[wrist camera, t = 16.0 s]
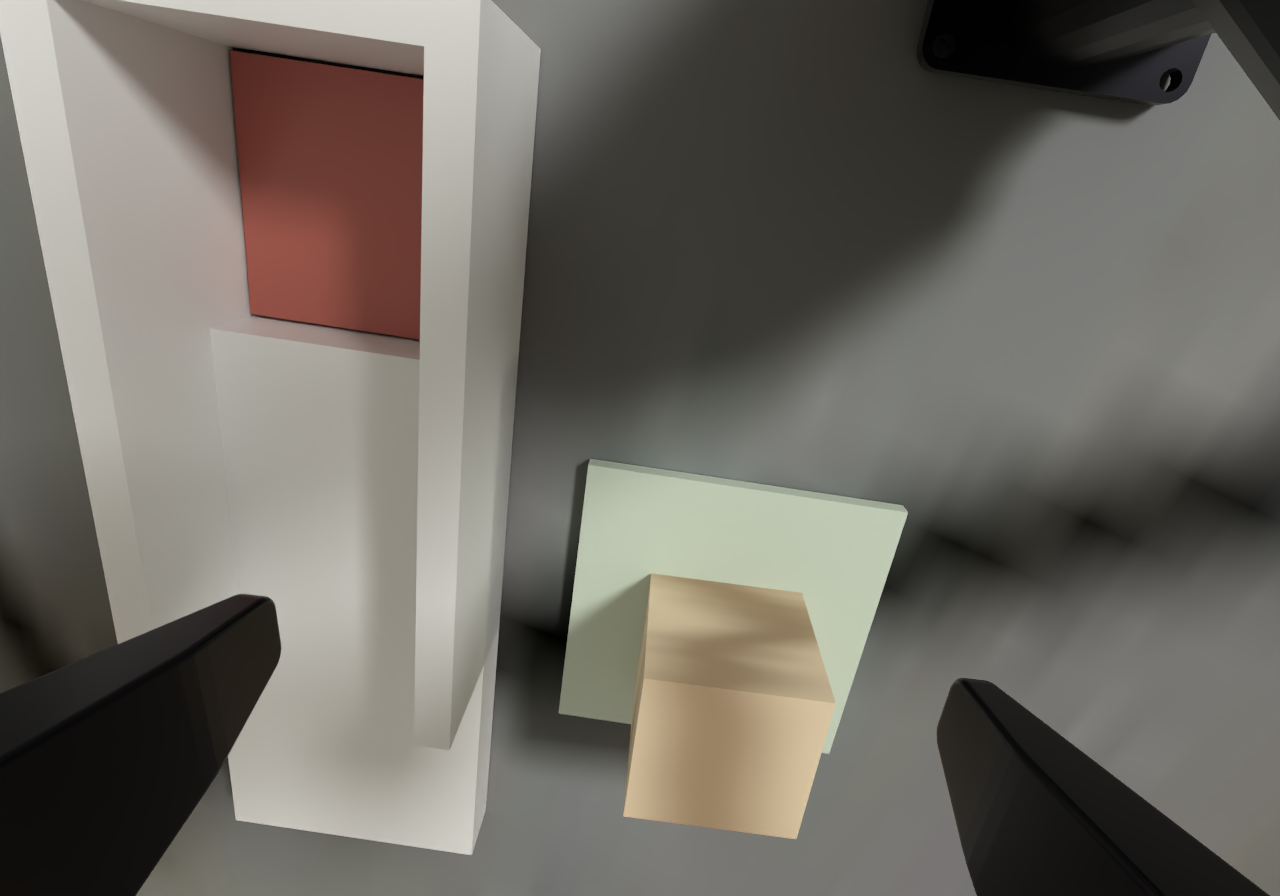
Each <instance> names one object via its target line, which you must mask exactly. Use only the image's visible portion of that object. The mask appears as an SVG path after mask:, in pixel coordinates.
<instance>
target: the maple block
mask: <svg viewBox="0 0 1280 896" xmlns="http://www.w3.org/2000/svg"><path fill="white" fill-rule="evenodd" d="M835 704H836V703H835V699H834V696H833V693H832V689H831V686H830V683H829V680H828V676H827V673H826V670H825V666H824V663H823V660H822V657H821V653H820V650H819V647H818V643H817V640H816V637H815V634H814V630H813V627H812V624H811V621H810V617H809V614H808V611H807V607H806V604H805V601H804V598H803V594H802V593H799V592H791V591H784V590H776V589H768V588H760V587H753V586H745V585H737V584H730V583H722V582H714V581H706V580H699V579H691V578H683V577H675V576H668V575H660V574H652V573H651V578H650V585H649V592H648V599H647V606H646V613H645V620H644V626H643V633H642V640H641V647H640V654H639V661H638V668H637V675H636V682H635V689H634V699H633V710H632V722H631V733H630V745H629V756H628V768H627V779H626V791H625V803H624V814H623V816H625V817H633V818H640V819H648V820H655V821H663V822H670V823H678V824H686V825H693V826H701V827H708V828H716V829H724V830H731V831H739V832H746V833H754V834H761V835H769V836H777V837H784V838H792V839H797V835H798V832H799V828H800V825H801V821H802V818H803V815H804V811H805V808H806V804H807V801H808V797H809V794H810V790H811V787H812V784H813V780H814V777H815V773H816V770H817V766H818V763H819V759H820V756H821V753H822V749H823V746H824V742H825V739H826V735H827V732H828V728H829V725H830V722H831V718H832V715H833V711H834V708H835Z"/></svg>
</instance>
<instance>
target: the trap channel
mask: <svg viewBox="0 0 1280 896" xmlns="http://www.w3.org/2000/svg"><path fill="white" fill-rule="evenodd" d="M0 34H1V40H2V45H3V50H4V55H5V60H6V66H7V71H8V76H9V81H10V86H11V92H12V97H13V102H14V107H15V112H16V118H17V123H18V128H19V133H20V138H21V144H22V149H23V154H24V159H25V164H26V169H27V175H28V180H29V185H30V190H31V195H32V201H33V206H34V211H35V216H36V221H37V227H38V232H39V237H40V242H41V247H42V253H43V258H44V263H45V268H46V273H47V279H48V284H49V289H50V294H51V299H52V305H53V310H54V315H55V320H56V325H57V331H58V336H59V341H60V346H61V351H62V357H63V362H64V367H65V372H66V377H67V383H68V388H69V393H70V398H71V403H72V409H73V414H74V419H75V424H76V429H77V435H78V440H79V445H80V450H81V455H82V461H83V466H84V471H85V476H86V481H87V487H88V492H89V497H90V502H91V507H92V513H93V518H94V523H95V528H96V533H97V539H98V544H99V549H100V554H101V559H102V565H103V570H104V575H105V580H106V585H107V591H108V596H109V601H110V606H111V611H112V617H113V622H114V627H115V632H116V637H117V643H118V644H120V643H122V642H124V641H127V640H129V639H132V638H134V637H136V636H139V635H141V634H144V633H146V632H148V631H151V630H153V629H155V628H158V627H160V626H163V625H165V624H167V623H170V622H172V621H175V620H177V619H179V618H182V617H184V616H186V615H189V614H191V613H194V612H196V611H198V610H201V609H203V608H206V607H208V606H210V605H213V604H215V603H218V602H220V601H222V600H225V599H227V598H229V597H232V596H234V595H237V594H251V595H259V596H267V597H269V598H271V599H272V600H273V602H274V603H275V607H276V613H277V619H278V626H279V633H280V640H281V655H280V659H279V662H278V664H277V667H276V669H275V670H274V672H273V674H272V676H271V678H270V680H269V681H268V683H267V685H266V687H265V689H264V691H263V692H262V694H261V696H260V698H259V700H258V702H257V703H256V705H255V707H254V709H253V711H252V713H251V715H250V716H249V718H248V720H247V722H246V724H245V726H244V727H243V729H242V731H241V733H240V735H239V737H238V738H237V740H236V742H235V744H234V746H233V748H232V749H231V751H230V753H229V755H228V761H229V769H230V777H231V785H232V793H233V801H234V809H235V817H236V820H238V821H245V822H252V823H259V824H265V825H272V826H279V827H286V828H292V829H299V830H306V831H313V832H319V833H326V834H333V835H340V836H346V837H353V838H360V839H366V840H373V841H380V842H387V843H393V844H400V845H407V846H414V847H420V848H427V849H434V850H441V851H447V852H454V853H461V854H468V855H472V853H473V849H474V846H475V843H476V840H477V836H478V833H479V830H480V827H481V823H482V820H483V817H484V814H485V810H486V801H487V788H488V774H489V760H490V746H491V732H492V718H493V704H494V691H495V677H496V663H497V649H498V635H499V621H500V607H501V594H502V580H503V566H504V552H505V538H506V524H507V510H508V497H509V483H510V469H511V455H512V441H513V427H514V413H515V400H516V386H517V372H518V358H519V344H520V330H521V316H522V303H523V289H524V275H525V261H526V247H527V233H528V219H529V206H530V192H531V178H532V164H533V150H534V136H535V122H536V109H537V95H538V81H539V67H540V53H541V49H540V48H539V47H538V46H537V45H536V44H535V43H534V42H533V41H532V40H531V39H530V38H529V37H528V36H527V35H526V34H525V33H524V32H523V31H522V30H521V29H520V28H519V27H518V26H517V25H516V24H515V23H514V22H513V21H512V20H511V19H510V18H509V17H508V16H507V15H506V14H505V13H503V12H502V11H501V10H500V9H499V8H498V7H497V6H496V5H495V4H494V3H493V2H492V1H491V0H0ZM233 48H240V49H247V50H253V51H260V52H266V53H273V54H280V55H286V56H293V57H300V58H306V59H313V60H319V61H326V62H333V63H339V64H346V65H353V66H359V67H366V68H373V69H379V70H386V71H392V72H399V73H406V74H412V75H419V76H424V79H417V78H411V77H404V76H397V75H391V74H384V73H378V72H371V71H364V70H358V69H351V68H344V67H338V66H331V65H324V64H318V63H311V62H305V61H298V60H291V59H285V58H278V57H271V56H265V55H258V54H252V53H245V52H238V51H233ZM257 315H261V316H257ZM263 316H267V317H263ZM270 317H274V318H270ZM277 318H281V319H277ZM283 319H287V320H283ZM290 320H294V321H290ZM297 321H301V322H297ZM304 322H307V323H304ZM310 323H314V324H310ZM317 324H321V325H317ZM324 325H327V326H324ZM330 326H334V327H330ZM337 327H341V328H337ZM344 328H347V329H344ZM350 329H354V330H350ZM357 330H361V331H357ZM364 331H367V332H364ZM370 332H374V333H370ZM377 333H381V334H377ZM384 334H387V335H384ZM390 335H394V336H390ZM397 336H401V337H397ZM404 337H407V338H404ZM410 338H414V339H410ZM417 339H420V340H417Z"/></svg>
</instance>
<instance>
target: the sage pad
mask: <svg viewBox="0 0 1280 896" xmlns="http://www.w3.org/2000/svg"><path fill="white" fill-rule="evenodd" d="M907 514H908V512H907V510H906V509H905V508H904V506H903V505H897V504H890V503H884V502H877V501H870V500H864V499H857V498H850V497H844V496H837V495H830V494H824V493H817V492H810V491H804V490H797V489H790V488H784V487H777V486H770V485H764V484H757V483H750V482H743V481H737V480H730V479H723V478H717V477H710V476H703V475H697V474H690V473H683V472H677V471H670V470H663V469H657V468H650V467H643V466H637V465H630V464H623V463H617V462H610V461H603V460H596V459H590V461H589V464H588V472H587V480H586V488H585V497H584V505H583V513H582V522H581V530H580V538H579V547H578V555H577V563H576V572H575V580H574V588H573V597H572V605H571V613H570V622H569V630H568V638H567V647H566V655H565V663H564V672H563V680H562V688H561V696H560V705H559V714H566V715H572V716H579V717H586V718H592V719H599V720H606V721H613V722H619V723H626V724H631V722H632V710H633V699H634V689H635V682H636V675H637V668H638V661H639V654H640V647H641V640H642V633H643V626H644V620H645V613H646V606H647V599H648V592H649V585H650V578H651V573H652V574H660V575H668V576H675V577H683V578H691V579H699V580H706V581H714V582H722V583H730V584H737V585H745V586H753V587H760V588H768V589H776V590H784V591H791V592H799V593H802V594H803V598H804V601H805V604H806V607H807V611H808V614H809V617H810V621H811V624H812V627H813V630H814V634H815V637H816V640H817V643H818V647H819V650H820V653H821V657H822V660H823V663H824V666H825V670H826V673H827V676H828V680H829V683H830V686H831V689H832V693H833V696H834V699H835V703H836V704H835V708H834V711H833V715H832V718H831V722H830V725H829V728H828V732H827V735H826V739H825V742H824V746H823V749H822V753H828V754H829V752H830V749H831V746H832V743H833V740H834V737H835V734H836V731H837V728H838V725H839V722H840V719H841V716H842V713H843V710H844V706H845V703H846V700H847V697H848V694H849V691H850V688H851V685H852V682H853V679H854V676H855V673H856V670H857V667H858V664H859V661H860V658H861V655H862V652H863V648H864V645H865V642H866V639H867V636H868V633H869V630H870V627H871V624H872V621H873V618H874V615H875V612H876V609H877V606H878V603H879V600H880V597H881V594H882V590H883V587H884V584H885V581H886V578H887V575H888V572H889V569H890V566H891V563H892V560H893V557H894V554H895V551H896V548H897V545H898V542H899V539H900V536H901V532H902V529H903V526H904V523H905V520H906V517H907Z"/></svg>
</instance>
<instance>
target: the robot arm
mask: <svg viewBox="0 0 1280 896" xmlns="http://www.w3.org/2000/svg"><path fill="white" fill-rule="evenodd" d="M1212 33H1217V34H1218V36H1219V37H1220V39H1221V40H1222V41H1223V43H1224V44H1225V45H1226V47H1227V48H1228V50H1229V51H1230V52H1231V54H1232V55H1233V56H1234V58H1235V59H1236V61H1237V62H1238V63H1239V65H1240V66H1241V68H1242V69H1243V70H1244V72H1245V73H1246V74H1247V76H1248V77H1249V79H1250V80H1251V81H1252V83H1253V84H1254V85H1255V87H1256V88H1257V90H1258V91H1259V92H1260V94H1261V95H1262V96H1263V98H1264V99H1265V101H1266V102H1267V103H1268V105H1269V106H1270V107H1271V109H1272V110H1273V112H1274V113H1275V114H1276V116H1277V117H1278V119H1279V120H1280V0H929V3H928V7H927V11H926V15H925V18H924V22H923V26H922V30H921V34H920V38H919V42H918V46H917V58H918V61H919V64H920V65H921V66H922V67H923V68H924V69H925V70H927V71H930V72H934V73H941V74H947V75H954V76H960V77H967V78H974V79H980V80H987V81H994V82H1000V83H1007V84H1013V85H1020V86H1027V87H1033V88H1040V89H1047V90H1053V91H1060V92H1066V93H1073V94H1080V95H1086V96H1093V97H1100V98H1106V99H1113V100H1119V101H1126V102H1133V103H1139V104H1146V105H1160V104H1166V103H1171V102H1173V101H1175V100H1177V99H1179V98H1180V97H1181V96H1183V95H1184V94H1185V93H1186V92H1187V90H1188V88H1189V87H1190V85H1191V83H1192V81H1193V78H1194V76H1195V73H1196V71H1197V68H1198V66H1199V63H1200V61H1201V58H1202V56H1203V53H1204V51H1205V48H1206V46H1207V43H1208V41H1209V38H1210V36H1211V34H1212ZM937 37H942V38H944V39H946V41H947V43H948V52H947V54H946V56H945V57H944V58H939V57H937V56H935V54H934V52H933V43H934V41H935V39H936V38H937ZM1164 72H1168V73H1169V75H1170V77H1171V81H1170V85H1169V87H1168V88H1167V90H1165V91H1163V90H1161V88H1160V86H1159V83H1160V78H1161V76H1162V75H1163V73H1164ZM280 655H281V640H280V633H279V626H278V619H277V613H276V607H275V603H274V602H273V600H272V599H271V598H269V597H267V596H259V595H251V594H237V595H234V596H232V597H229V598H227V599H225V600H222V601H220V602H218V603H215V604H213V605H210V606H208V607H206V608H203V609H201V610H198V611H196V612H194V613H191V614H189V615H186V616H184V617H182V618H179V619H177V620H175V621H172V622H170V623H167V624H165V625H163V626H160V627H158V628H155V629H153V630H151V631H148V632H146V633H144V634H141V635H139V636H136V637H134V638H132V639H129V640H127V641H124V642H122V643H120V644H117V645H115V646H112V647H110V648H108V649H105V650H103V651H101V652H98V653H96V654H93V655H91V656H89V657H86V658H84V659H81V660H79V661H77V662H74V663H72V664H69V665H67V666H65V667H62V668H60V669H58V670H55V671H53V672H50V673H48V674H46V675H43V676H41V677H38V678H36V679H34V680H31V681H29V682H27V683H24V684H22V685H19V686H17V687H15V688H12V689H10V690H7V691H5V692H3V693H0V896H136V894H137V893H138V891H139V890H140V888H141V887H142V885H143V884H144V882H145V881H146V879H147V878H148V876H149V875H150V873H151V872H152V870H153V869H154V867H155V866H156V865H157V863H158V862H159V860H160V859H161V857H162V856H163V854H164V853H165V851H166V850H167V848H168V847H169V845H170V844H171V842H172V841H173V839H174V838H175V836H176V835H177V833H178V832H179V830H180V829H181V828H182V826H183V825H184V823H185V822H186V820H187V819H188V817H189V816H190V814H191V813H192V811H193V810H194V808H195V807H196V805H197V804H198V802H199V801H200V799H201V798H202V796H203V795H204V793H205V792H206V791H207V789H208V787H209V786H210V784H211V783H212V781H213V780H214V778H215V777H216V775H217V774H218V772H219V770H220V769H221V767H222V765H223V763H224V762H225V760H226V758H227V757H228V755H229V753H230V751H231V749H232V748H233V746H234V744H235V742H236V740H237V738H238V737H239V735H240V733H241V731H242V729H243V727H244V726H245V724H246V722H247V720H248V718H249V716H250V715H251V713H252V711H253V709H254V707H255V705H256V703H257V702H258V700H259V698H260V696H261V694H262V692H263V691H264V689H265V687H266V685H267V683H268V681H269V680H270V678H271V676H272V674H273V672H274V670H275V669H276V667H277V664H278V662H279V659H280ZM937 744H938V749H939V753H940V757H941V761H942V765H943V770H944V774H945V778H946V782H947V786H948V791H949V795H950V799H951V803H952V807H953V811H954V816H955V820H956V824H957V828H958V832H959V837H960V841H961V845H962V849H963V852H964V856H965V860H966V864H967V867H968V870H969V873H970V876H971V879H972V882H973V886H974V888H975V891H976V894H977V896H1270V895H1268V894H1267V893H1266V892H1264V891H1263V890H1262V889H1260V888H1259V887H1258V886H1257V885H1255V884H1254V883H1253V882H1251V881H1250V880H1249V879H1247V878H1246V877H1245V876H1244V875H1242V874H1241V873H1240V872H1238V871H1237V870H1236V869H1234V868H1233V867H1232V866H1230V865H1229V864H1228V863H1227V862H1225V861H1224V860H1223V859H1221V858H1220V857H1219V856H1217V855H1216V854H1215V853H1214V852H1212V851H1211V850H1210V849H1208V848H1207V847H1206V846H1204V845H1203V844H1202V843H1200V842H1199V841H1198V840H1197V839H1195V838H1194V837H1193V836H1191V835H1190V834H1189V833H1187V832H1186V831H1185V830H1184V829H1182V828H1181V827H1180V826H1178V825H1177V824H1176V823H1174V822H1173V821H1172V820H1170V819H1169V818H1168V817H1167V816H1165V815H1164V814H1163V813H1161V812H1160V811H1159V810H1157V809H1156V808H1155V807H1153V806H1152V805H1151V804H1150V803H1148V802H1147V801H1146V800H1144V799H1143V798H1142V797H1140V796H1139V795H1138V794H1137V793H1135V792H1134V791H1133V790H1131V789H1130V788H1129V787H1127V786H1126V785H1125V784H1123V783H1122V782H1121V781H1120V780H1118V779H1117V778H1116V777H1114V776H1113V775H1112V774H1110V773H1109V772H1108V771H1107V770H1105V769H1104V768H1103V767H1101V766H1100V765H1099V764H1097V763H1096V762H1095V761H1093V760H1092V759H1091V758H1090V757H1088V756H1087V755H1086V754H1084V753H1083V752H1082V751H1080V750H1079V749H1078V748H1077V747H1075V746H1074V745H1073V744H1071V743H1070V742H1069V741H1067V740H1066V739H1065V738H1063V737H1062V736H1061V735H1060V734H1058V733H1057V732H1056V731H1054V730H1053V729H1052V728H1050V727H1049V726H1048V725H1047V724H1045V723H1044V722H1043V721H1041V720H1040V719H1039V718H1037V717H1036V716H1035V715H1033V714H1032V713H1031V712H1030V711H1028V710H1027V709H1026V708H1024V707H1023V706H1022V705H1020V704H1019V703H1018V702H1017V701H1015V700H1014V699H1013V698H1011V697H1010V696H1009V695H1007V694H1006V693H1005V692H1003V691H1002V690H1001V689H1000V688H998V687H997V686H996V685H994V684H993V683H991V682H989V681H984V680H976V679H967V678H959V679H957V680H955V681H954V683H953V684H952V686H951V688H950V691H949V694H948V697H947V700H946V703H945V705H944V708H943V711H942V714H941V717H940V720H939V723H938V727H937Z"/></svg>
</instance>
